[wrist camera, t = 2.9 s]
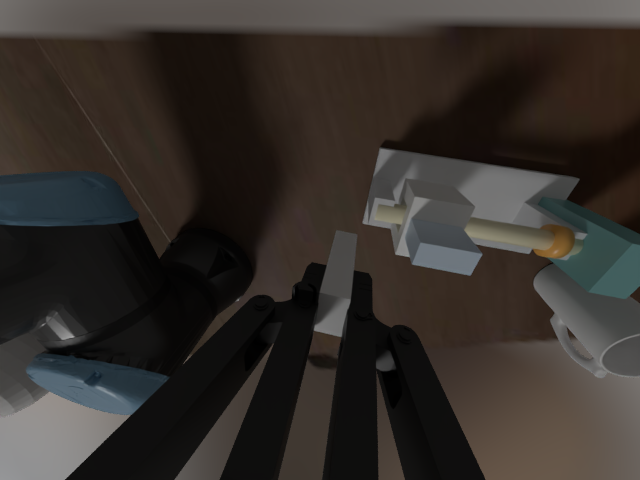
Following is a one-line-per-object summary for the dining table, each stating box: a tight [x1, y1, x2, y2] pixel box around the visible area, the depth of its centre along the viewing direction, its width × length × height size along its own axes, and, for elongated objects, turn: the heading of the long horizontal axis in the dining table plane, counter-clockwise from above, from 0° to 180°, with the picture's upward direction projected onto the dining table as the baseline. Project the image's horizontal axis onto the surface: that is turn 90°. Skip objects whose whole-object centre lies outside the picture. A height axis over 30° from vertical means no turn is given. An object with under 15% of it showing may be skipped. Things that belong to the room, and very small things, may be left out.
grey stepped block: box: [390, 178, 482, 275], centre depth 22 cm, size 5×6×10 cm
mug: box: [533, 263, 640, 378], centre depth 29 cm, size 10×7×12 cm, turn 177°
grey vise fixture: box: [363, 147, 640, 299], centre depth 25 cm, size 22×10×12 cm, turn 83°
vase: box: [0, 333, 50, 418], centre depth 46 cm, size 18×18×25 cm
